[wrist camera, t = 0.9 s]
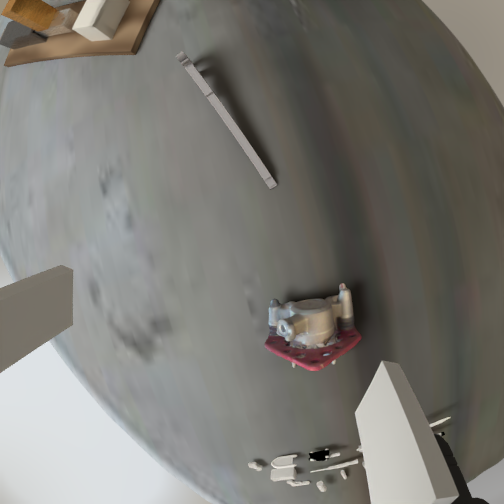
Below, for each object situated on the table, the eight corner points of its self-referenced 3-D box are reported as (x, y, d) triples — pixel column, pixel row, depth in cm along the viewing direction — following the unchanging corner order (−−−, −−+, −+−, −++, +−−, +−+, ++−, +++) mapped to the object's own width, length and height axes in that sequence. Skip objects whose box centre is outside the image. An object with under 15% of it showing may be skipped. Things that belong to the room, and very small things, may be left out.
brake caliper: (271, 380, 38) (257, 373, 28) (269, 303, 43) (254, 269, 33) (356, 372, 36) (375, 362, 26) (348, 295, 41) (360, 258, 31)
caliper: (187, 68, 35) (169, 49, 28) (193, 63, 34) (177, 44, 28) (270, 189, 36) (266, 188, 30) (278, 185, 36) (275, 182, 30)
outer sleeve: (23, 29, 34) (8, 22, 29) (56, 19, 33) (40, 10, 28) (14, 49, 35) (-2, 43, 30) (46, 42, 34) (29, 34, 29)
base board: (29, 19, 35) (25, 17, 33) (163, -6, 32) (159, -11, 31) (8, 67, 37) (3, 65, 36) (135, 54, 35) (130, 51, 33)
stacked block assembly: (15, 31, 34) (-26, 15, 21) (81, 14, 32) (35, -17, 19) (8, 47, 34) (-35, 33, 21) (72, 33, 33) (22, 5, 20)
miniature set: (445, 399, 37) (443, 434, 40) (250, 450, 46) (273, 477, 49) (457, 427, 31) (451, 459, 34) (245, 478, 40) (270, 502, 43)
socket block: (109, 4, 32) (92, -10, 26) (130, 1, 32) (113, -15, 26) (91, 41, 33) (71, 29, 28) (112, 39, 33) (92, 25, 28)
